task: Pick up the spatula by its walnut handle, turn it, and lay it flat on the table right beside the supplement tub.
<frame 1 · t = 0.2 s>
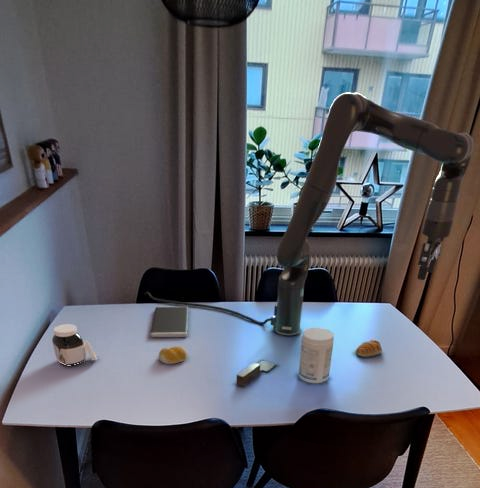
hand: (425, 275, 143), 29 cm above the table, tool pointing down, fingers open, 8 cm apart
spread jar: (78, 361, 156), on the table
supplement tub: (313, 377, 151), on the table
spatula: (255, 374, 151), on the table
grey tablet slab: (170, 323, 183), on the table
pastry: (368, 353, 166), on the table
bread roll: (172, 359, 159), on the table
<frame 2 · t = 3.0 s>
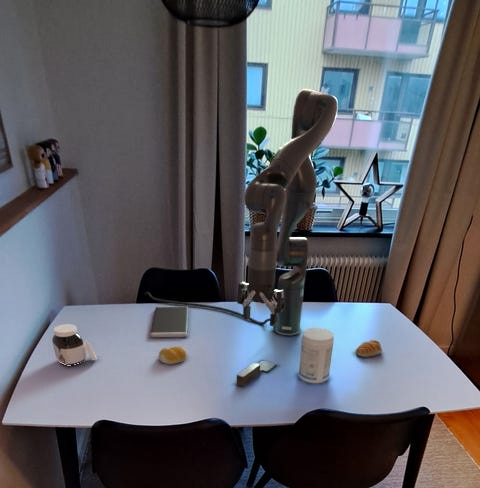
hand: (259, 322, 139), 18 cm above the table, tool pointing down, fingers open, 8 cm apart
nothing on the table moved.
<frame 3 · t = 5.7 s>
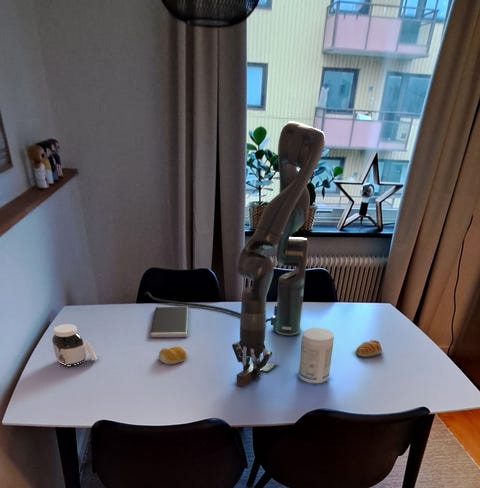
hand: (250, 376, 150), 0 cm above the table, tool pointing down, fingers closed on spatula, 2 cm apart
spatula: (255, 374, 151), on the table, touching gripper
everything else where it was.
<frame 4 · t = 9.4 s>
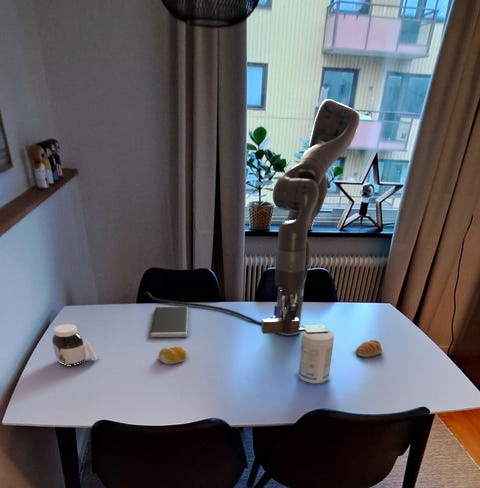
hand: (285, 330, 132), 19 cm above the table, tool pointing down, fingers closed on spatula, 2 cm apart
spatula: (294, 330, 132), point 19 cm above the table, touching gripper
everything else where it was.
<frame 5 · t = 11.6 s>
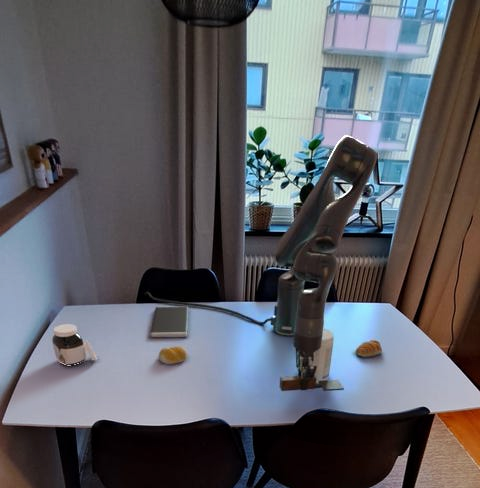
hand: (302, 386, 137), 4 cm above the table, tool pointing down, fingers closed on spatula, 2 cm apart
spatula: (310, 387, 137), point 4 cm above the table, touching gripper
everything else where it was.
when the fingers open (0 cm above the table, at t = 13.0 s): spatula stays where it is, on the table.
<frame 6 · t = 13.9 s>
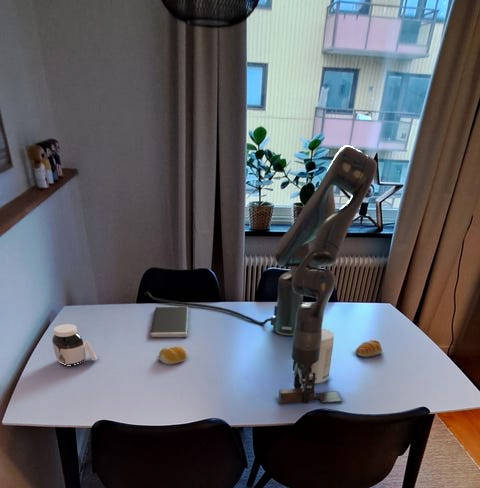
hand: (301, 394, 138), 2 cm above the table, tool pointing down, fingers open, 8 cm apart
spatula: (309, 399, 140), on the table
everything else where it was.
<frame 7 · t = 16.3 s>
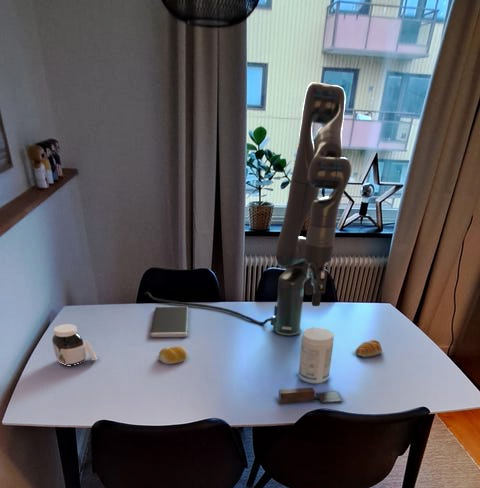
hand: (311, 299, 139), 24 cm above the table, tool pointing down, fingers open, 8 cm apart
nothing on the table moved.
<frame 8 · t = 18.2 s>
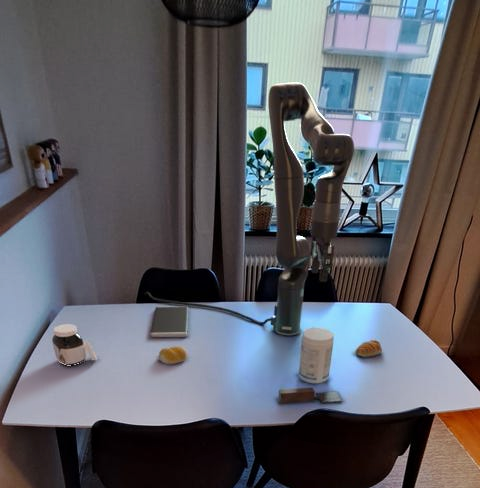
hand: (318, 276, 143), 28 cm above the table, tool pointing down, fingers open, 8 cm apart
nothing on the table moved.
at the end: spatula 14.0 cm from the supplement tub (horizontally); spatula on the table; supplement tub moved 0.2 cm from its start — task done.
